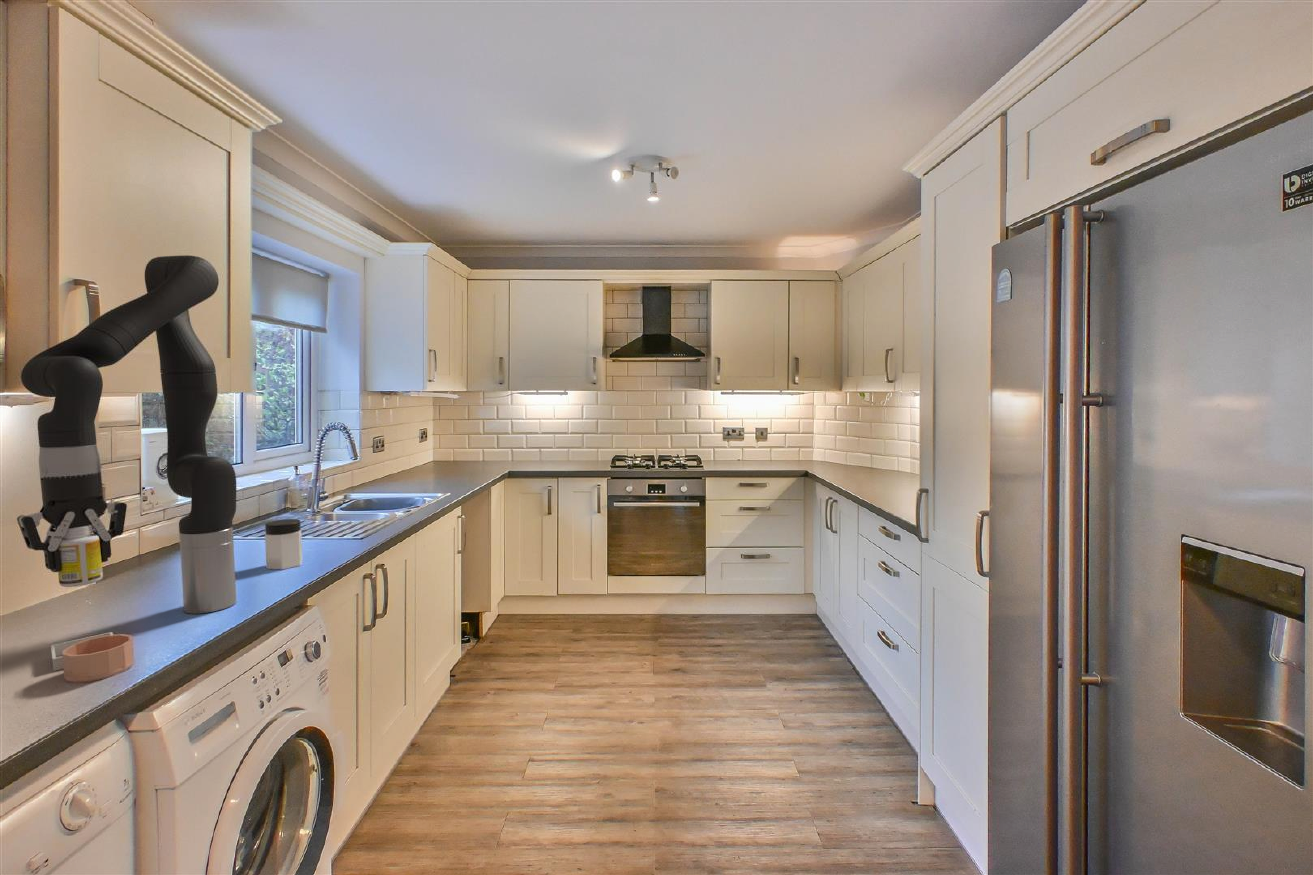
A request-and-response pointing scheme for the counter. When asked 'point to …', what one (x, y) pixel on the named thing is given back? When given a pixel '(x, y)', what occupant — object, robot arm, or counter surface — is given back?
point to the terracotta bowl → (98, 658)
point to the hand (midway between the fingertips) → (79, 565)
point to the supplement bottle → (80, 557)
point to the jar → (283, 544)
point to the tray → (58, 648)
